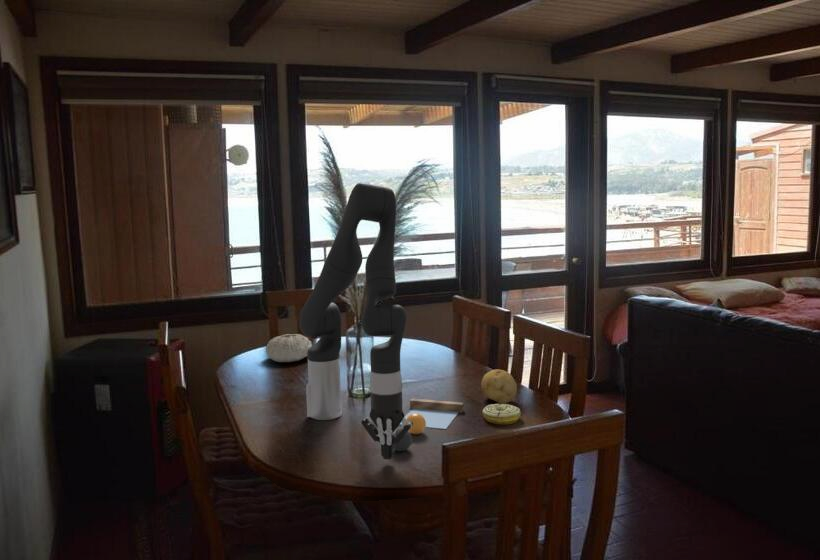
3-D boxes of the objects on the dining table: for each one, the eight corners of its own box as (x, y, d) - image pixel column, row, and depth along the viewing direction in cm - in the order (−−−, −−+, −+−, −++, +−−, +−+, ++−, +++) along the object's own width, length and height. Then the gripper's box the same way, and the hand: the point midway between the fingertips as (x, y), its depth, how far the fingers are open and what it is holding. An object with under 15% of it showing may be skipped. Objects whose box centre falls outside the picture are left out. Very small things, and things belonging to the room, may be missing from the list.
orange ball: (402, 436, 178) (402, 416, 177) (409, 429, 183) (408, 409, 183) (422, 438, 176) (422, 418, 176) (428, 430, 182) (428, 411, 181)
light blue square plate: (397, 424, 187) (397, 424, 187) (413, 408, 200) (413, 408, 200) (445, 429, 182) (445, 428, 182) (458, 412, 195) (458, 412, 195)
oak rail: (410, 408, 200) (409, 400, 200) (412, 406, 202) (412, 398, 202) (462, 413, 195) (461, 404, 195) (463, 410, 197) (463, 402, 197)
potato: (503, 393, 212) (503, 363, 211) (522, 405, 200) (522, 373, 199) (474, 397, 209) (473, 366, 208) (491, 410, 197) (491, 377, 196)
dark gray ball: (387, 453, 167) (386, 432, 166) (394, 445, 172) (394, 424, 171) (407, 455, 165) (407, 434, 164) (414, 447, 170) (414, 426, 170)
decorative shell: (261, 357, 265) (260, 333, 264) (305, 352, 273) (304, 328, 271) (272, 368, 249) (271, 342, 248) (318, 362, 257) (317, 336, 255)
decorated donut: (505, 411, 197) (505, 399, 196) (528, 422, 187) (528, 409, 187) (475, 417, 192) (475, 404, 191) (497, 429, 182) (497, 415, 182)
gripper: (354, 390, 157) (356, 461, 159) (407, 395, 152) (408, 467, 155) (366, 381, 164) (368, 449, 166) (417, 386, 159) (419, 455, 162)
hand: (388, 458), depth 160 cm, fingers closed
